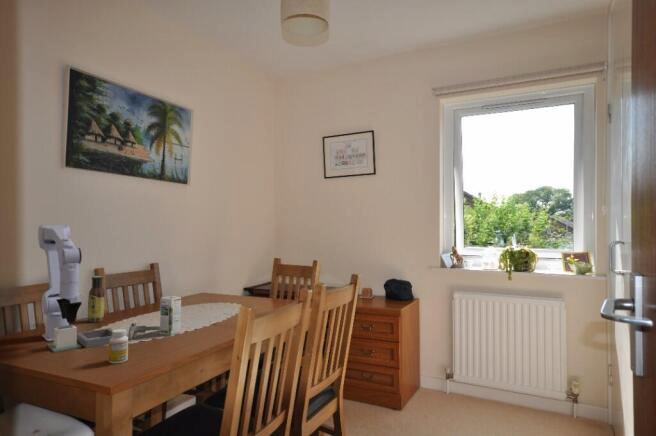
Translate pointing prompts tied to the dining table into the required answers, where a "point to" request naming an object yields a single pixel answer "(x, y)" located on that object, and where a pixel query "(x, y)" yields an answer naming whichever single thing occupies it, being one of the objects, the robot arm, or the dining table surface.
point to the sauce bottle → (96, 300)
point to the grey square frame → (87, 343)
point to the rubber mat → (62, 347)
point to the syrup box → (170, 315)
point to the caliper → (140, 330)
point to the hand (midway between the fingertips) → (68, 320)
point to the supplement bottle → (118, 346)
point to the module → (65, 336)
